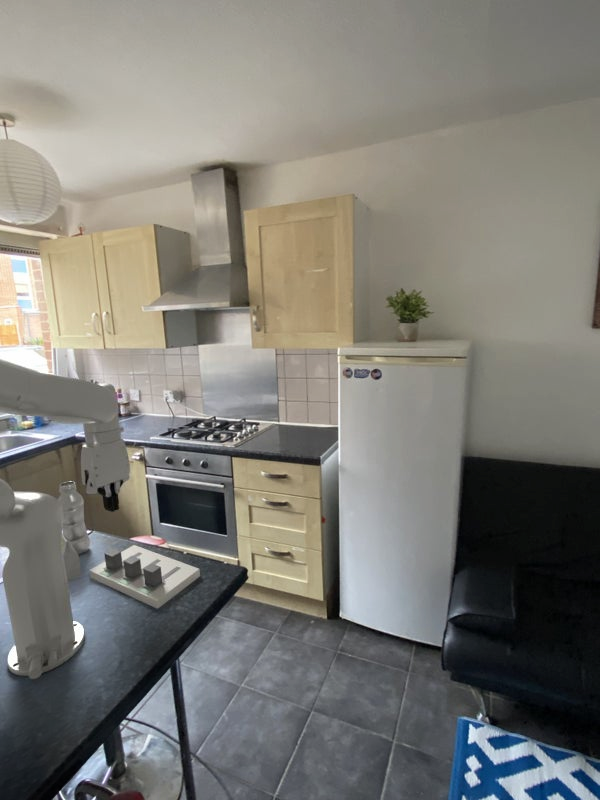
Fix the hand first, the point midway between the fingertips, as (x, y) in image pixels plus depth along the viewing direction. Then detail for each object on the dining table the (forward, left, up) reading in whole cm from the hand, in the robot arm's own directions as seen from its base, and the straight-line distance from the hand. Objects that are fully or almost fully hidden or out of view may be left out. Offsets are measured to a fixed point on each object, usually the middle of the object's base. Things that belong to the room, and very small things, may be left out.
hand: (112, 509), depth 99 cm
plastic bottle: (+17, +9, -17) cm, 26 cm away
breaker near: (-13, -6, -15) cm, 20 cm away
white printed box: (+7, +11, -17) cm, 22 cm away
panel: (-5, -5, -17) cm, 18 cm away
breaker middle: (-7, -2, -15) cm, 16 cm away
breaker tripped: (-1, +1, -15) cm, 15 cm away
